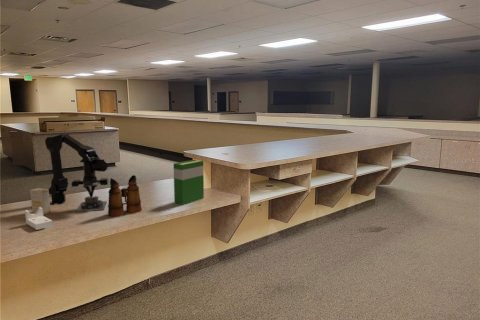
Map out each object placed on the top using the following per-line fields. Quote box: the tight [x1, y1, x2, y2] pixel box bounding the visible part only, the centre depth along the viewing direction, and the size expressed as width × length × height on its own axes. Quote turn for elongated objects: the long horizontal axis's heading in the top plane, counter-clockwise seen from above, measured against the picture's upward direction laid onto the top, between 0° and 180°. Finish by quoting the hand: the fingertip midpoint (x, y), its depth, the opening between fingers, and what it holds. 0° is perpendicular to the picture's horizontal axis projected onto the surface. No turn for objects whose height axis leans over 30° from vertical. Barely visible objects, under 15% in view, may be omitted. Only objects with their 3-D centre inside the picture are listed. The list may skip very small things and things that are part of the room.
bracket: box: [24, 207, 54, 230], centre depth 164 cm, size 13×7×8 cm, turn 50°
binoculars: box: [107, 174, 142, 218], centre depth 184 cm, size 18×8×20 cm, turn 130°
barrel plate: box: [76, 199, 108, 213], centre depth 194 cm, size 14×14×3 cm
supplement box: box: [29, 187, 52, 216], centre depth 183 cm, size 8×5×13 cm, turn 71°
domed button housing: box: [84, 195, 99, 205], centre depth 193 cm, size 7×6×5 cm
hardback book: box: [173, 159, 205, 205], centre depth 207 cm, size 18×7×24 cm, turn 142°
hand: (91, 196), depth 193 cm, fingers closed, pressing on domed button housing
